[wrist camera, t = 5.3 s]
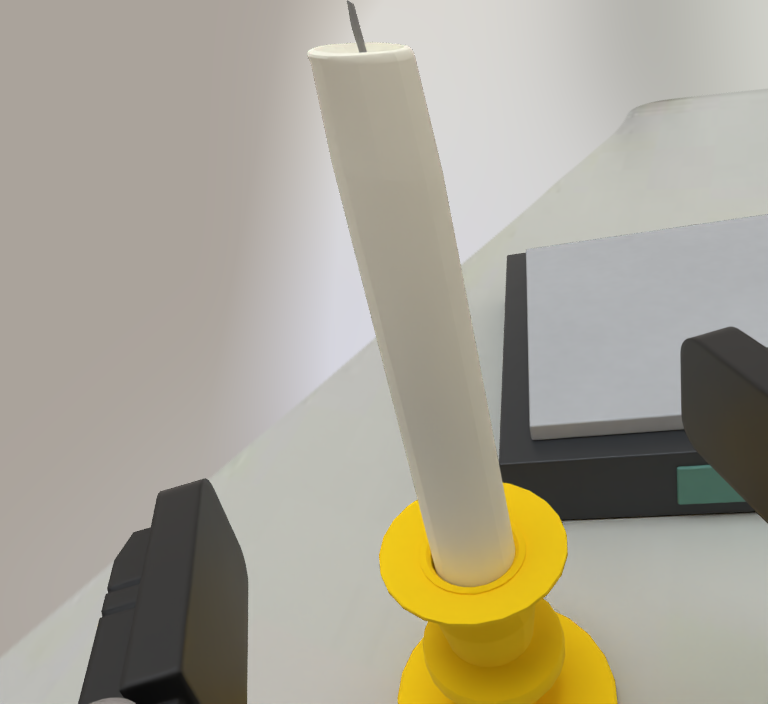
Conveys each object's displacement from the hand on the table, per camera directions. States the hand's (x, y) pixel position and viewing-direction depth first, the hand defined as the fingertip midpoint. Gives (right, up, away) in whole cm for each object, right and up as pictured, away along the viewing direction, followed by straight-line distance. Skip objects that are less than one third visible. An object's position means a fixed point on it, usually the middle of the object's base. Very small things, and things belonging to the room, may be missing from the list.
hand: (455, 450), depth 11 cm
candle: (+2, -7, +5) cm, 9 cm away
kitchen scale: (+12, +1, +15) cm, 19 cm away
